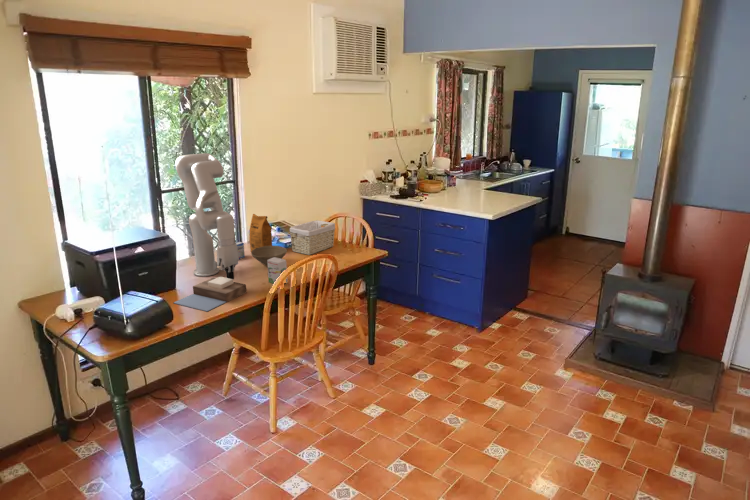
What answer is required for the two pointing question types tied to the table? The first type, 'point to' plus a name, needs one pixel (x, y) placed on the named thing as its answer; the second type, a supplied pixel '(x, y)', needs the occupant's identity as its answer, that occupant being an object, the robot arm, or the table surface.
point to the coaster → (220, 282)
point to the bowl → (268, 253)
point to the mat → (200, 302)
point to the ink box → (275, 268)
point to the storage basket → (312, 237)
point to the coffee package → (260, 232)
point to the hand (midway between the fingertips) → (230, 279)
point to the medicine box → (240, 249)
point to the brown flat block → (219, 291)
